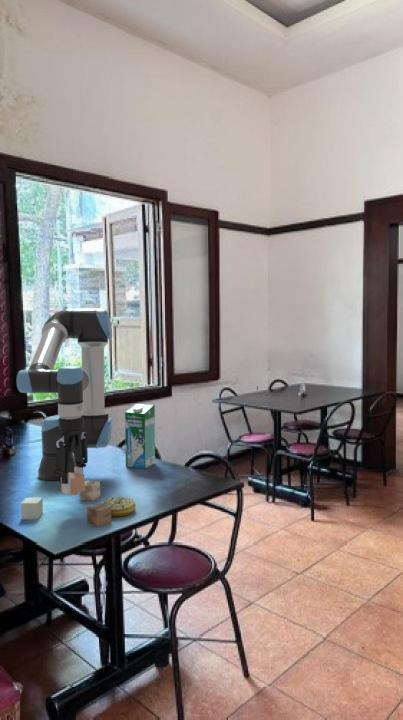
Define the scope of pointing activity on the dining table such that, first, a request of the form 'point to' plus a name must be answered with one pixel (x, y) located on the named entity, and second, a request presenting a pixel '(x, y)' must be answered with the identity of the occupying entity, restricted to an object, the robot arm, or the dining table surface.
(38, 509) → the sage cube
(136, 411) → the milk carton
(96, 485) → the beech cube
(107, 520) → the walnut cube
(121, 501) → the decorated donut
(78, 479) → the terracotta cube
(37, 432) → the dining table surface
